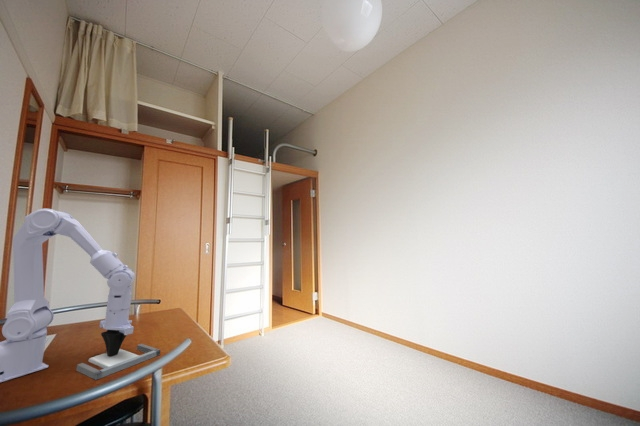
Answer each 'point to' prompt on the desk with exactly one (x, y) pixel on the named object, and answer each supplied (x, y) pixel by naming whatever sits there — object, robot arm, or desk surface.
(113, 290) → the robot arm
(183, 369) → the desk surface
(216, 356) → the desk surface
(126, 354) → the hard drive
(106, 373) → the drive bay
